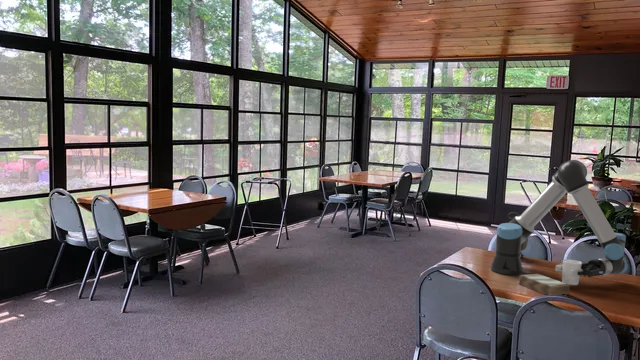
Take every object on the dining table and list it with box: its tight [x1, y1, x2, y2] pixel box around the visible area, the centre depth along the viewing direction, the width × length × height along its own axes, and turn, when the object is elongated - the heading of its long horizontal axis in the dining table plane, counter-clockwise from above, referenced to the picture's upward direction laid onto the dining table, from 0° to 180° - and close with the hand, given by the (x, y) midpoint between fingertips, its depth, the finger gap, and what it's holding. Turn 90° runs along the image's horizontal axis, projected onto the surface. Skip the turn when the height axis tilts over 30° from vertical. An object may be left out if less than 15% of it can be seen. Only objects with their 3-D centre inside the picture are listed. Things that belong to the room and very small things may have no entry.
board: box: [518, 273, 571, 295], centre depth 232 cm, size 18×11×4 cm, turn 24°
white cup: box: [561, 258, 583, 286], centre depth 235 cm, size 8×8×10 cm
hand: (563, 270), depth 233 cm, fingers closed on white cup, 8 cm apart
